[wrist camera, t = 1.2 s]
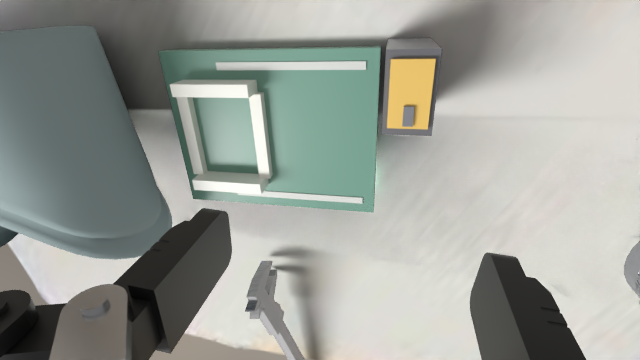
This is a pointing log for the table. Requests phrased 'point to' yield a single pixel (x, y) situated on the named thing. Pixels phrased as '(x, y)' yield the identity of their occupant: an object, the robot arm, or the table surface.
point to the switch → (410, 86)
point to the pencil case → (72, 149)
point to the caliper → (270, 309)
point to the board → (278, 123)
